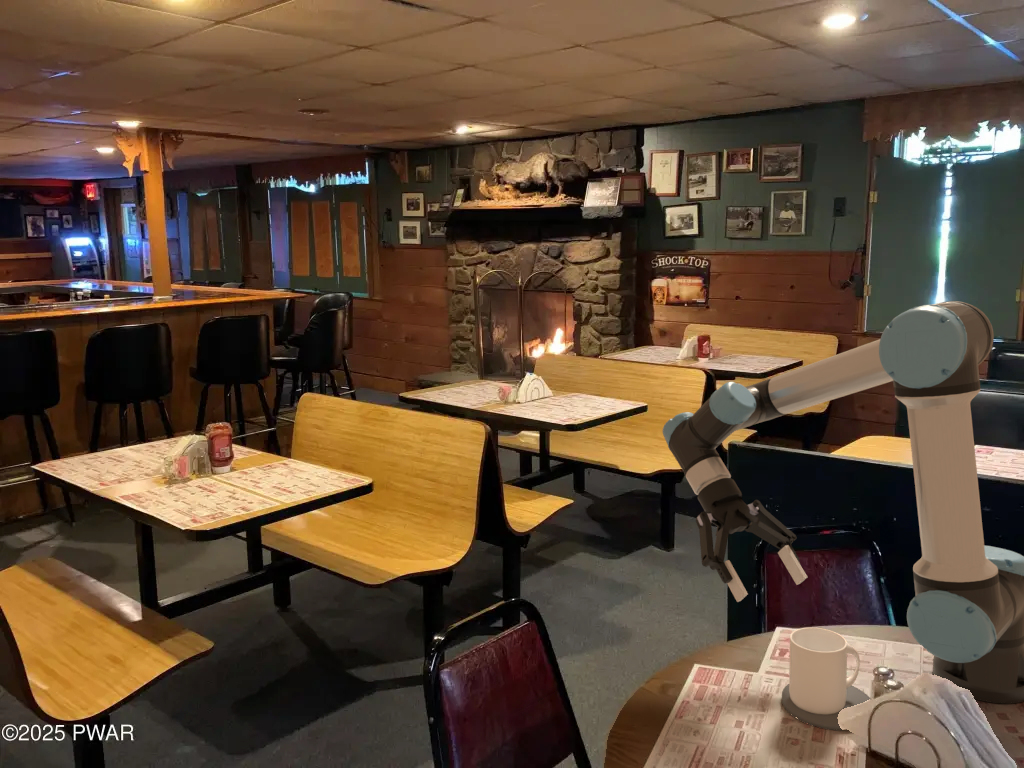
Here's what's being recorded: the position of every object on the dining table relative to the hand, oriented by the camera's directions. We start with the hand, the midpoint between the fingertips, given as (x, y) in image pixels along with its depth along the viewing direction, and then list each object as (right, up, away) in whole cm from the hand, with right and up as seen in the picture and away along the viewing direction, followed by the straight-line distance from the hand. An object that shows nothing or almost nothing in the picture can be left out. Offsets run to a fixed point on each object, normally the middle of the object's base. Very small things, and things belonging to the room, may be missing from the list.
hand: (773, 589), depth 141 cm
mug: (+6, -16, -9) cm, 19 cm away
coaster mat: (+6, -17, -9) cm, 20 cm away
